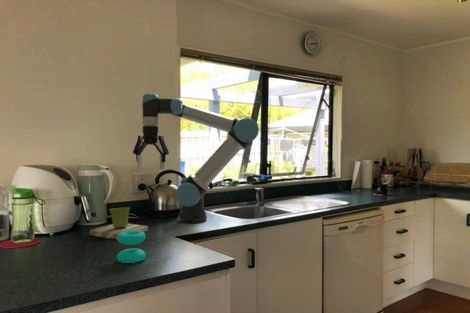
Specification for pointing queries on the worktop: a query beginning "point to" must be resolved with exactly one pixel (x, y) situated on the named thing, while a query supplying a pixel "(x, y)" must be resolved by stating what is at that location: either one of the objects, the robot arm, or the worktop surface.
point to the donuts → (132, 253)
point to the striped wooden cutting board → (116, 230)
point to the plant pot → (120, 217)
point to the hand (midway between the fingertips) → (150, 168)
